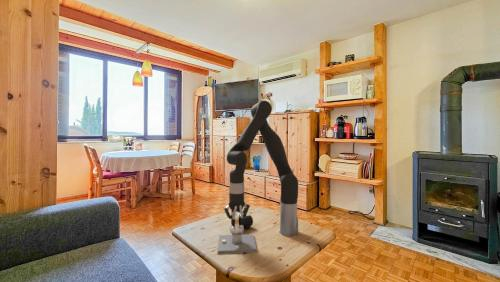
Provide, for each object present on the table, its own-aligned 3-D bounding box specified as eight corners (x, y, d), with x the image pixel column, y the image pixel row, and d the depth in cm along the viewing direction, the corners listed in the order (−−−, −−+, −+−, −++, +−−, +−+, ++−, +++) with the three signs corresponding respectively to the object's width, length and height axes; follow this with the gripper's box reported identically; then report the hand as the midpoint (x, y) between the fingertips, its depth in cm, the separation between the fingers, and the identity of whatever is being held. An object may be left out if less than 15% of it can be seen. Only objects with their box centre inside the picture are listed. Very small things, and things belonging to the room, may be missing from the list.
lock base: (253, 236, 120) (253, 224, 120) (256, 251, 104) (256, 238, 104) (219, 237, 119) (219, 225, 119) (217, 253, 103) (217, 240, 103)
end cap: (239, 232, 125) (239, 220, 125) (232, 228, 130) (232, 217, 130) (253, 227, 131) (253, 216, 131) (245, 224, 137) (245, 213, 137)
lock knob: (230, 227, 116) (230, 214, 115) (243, 227, 116) (243, 213, 116) (229, 236, 106) (229, 221, 106) (244, 236, 106) (244, 221, 106)
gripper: (246, 188, 117) (246, 220, 118) (220, 190, 112) (221, 225, 112) (252, 191, 111) (252, 226, 111) (225, 194, 105) (225, 231, 105)
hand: (236, 225), depth 112 cm, fingers closed on lock knob, 2 cm apart
